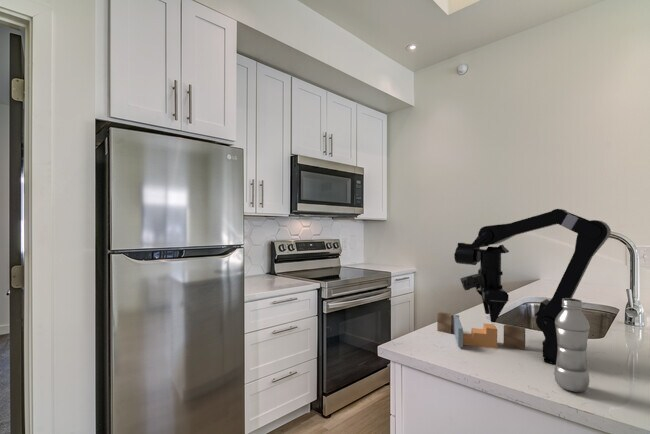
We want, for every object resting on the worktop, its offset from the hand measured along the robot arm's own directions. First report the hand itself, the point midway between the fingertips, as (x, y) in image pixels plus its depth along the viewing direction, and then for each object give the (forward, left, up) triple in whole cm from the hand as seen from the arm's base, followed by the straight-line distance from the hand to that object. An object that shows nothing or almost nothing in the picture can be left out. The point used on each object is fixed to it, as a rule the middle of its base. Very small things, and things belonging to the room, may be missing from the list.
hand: (490, 317), depth 105 cm
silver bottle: (-22, +17, -8) cm, 29 cm away
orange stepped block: (+3, +2, -8) cm, 9 cm away
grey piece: (+8, +3, -8) cm, 12 cm away
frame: (+4, -3, -8) cm, 9 cm away
